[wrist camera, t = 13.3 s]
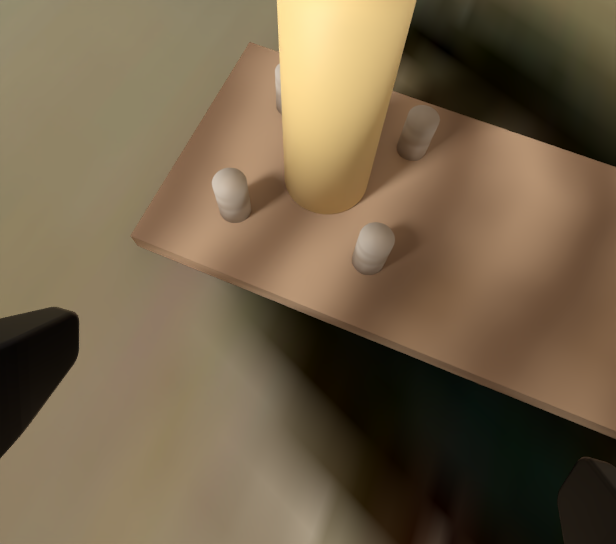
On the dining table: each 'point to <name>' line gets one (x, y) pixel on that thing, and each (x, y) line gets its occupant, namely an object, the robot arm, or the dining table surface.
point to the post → (336, 93)
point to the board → (414, 242)
